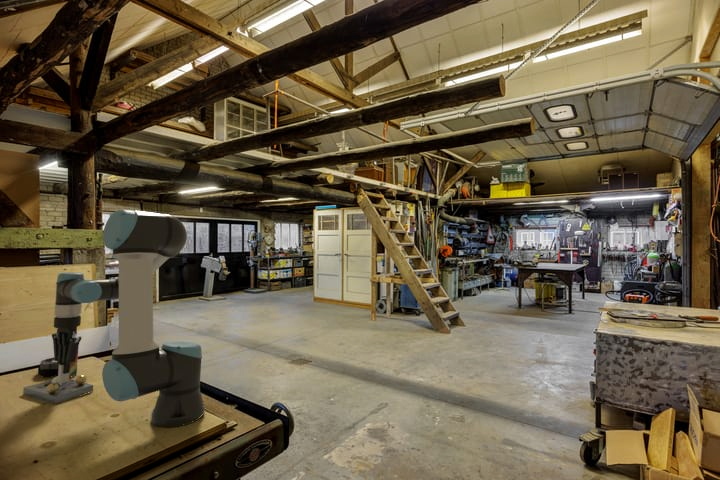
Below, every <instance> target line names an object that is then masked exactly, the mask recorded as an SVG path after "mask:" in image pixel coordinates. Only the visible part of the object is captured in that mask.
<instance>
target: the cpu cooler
mask: <svg viewBox="0 0 720 480" xmlns="http://www.w3.org/2000/svg"><path fill="white" fill-rule="evenodd" d="M57 362H58V361H55V360H54V357H50V358H46V359H43V360H41V361H40V363H39V364H40V365H39V366H38V369H37V375H38V376H41V377H42V376H43V378H44V379H46V378H52V377H51V376H53V377H56V376H55V375H58V369H59V364H58V363H57ZM45 377H46V378H45Z"/></svg>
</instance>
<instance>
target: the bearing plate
mask: <svg viewBox="0 0 720 480" xmlns="http://www.w3.org/2000/svg"><path fill="white" fill-rule="evenodd" d="M51 382H52V379H49V380H46V381H44V382H43V381H42V382H38V383H36V384H31V385H28V386H23V393H22V395H24V396H26V397H29V398H33V399H36V400H40V401H43V402H46V403H50V404H53V405H56V404H59V403H64V402H66V401H69V400H72V399H74V398H78V397H81V396H80V395H82V396H84V395H83V394H85V393H88V392H91V391H93V392H94V384H92V383H87V382H85V383H83V384H77V383H76V379H71V378H69V381H68V382H64V383H61V384H60V385H59V388H58V390H57V391H56V392H54V393H49V392H47V390H46V389H47V386H48V385H49V384H51ZM91 393H92V392H91ZM88 394H89V393H88ZM85 395H86V394H85Z"/></svg>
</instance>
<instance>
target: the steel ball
mask: <svg viewBox="0 0 720 480" xmlns="http://www.w3.org/2000/svg"><path fill="white" fill-rule="evenodd" d="M51 380H52V382H51V383H57V384H58V385H60V383H58V376H54V377H52V379H51Z"/></svg>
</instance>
